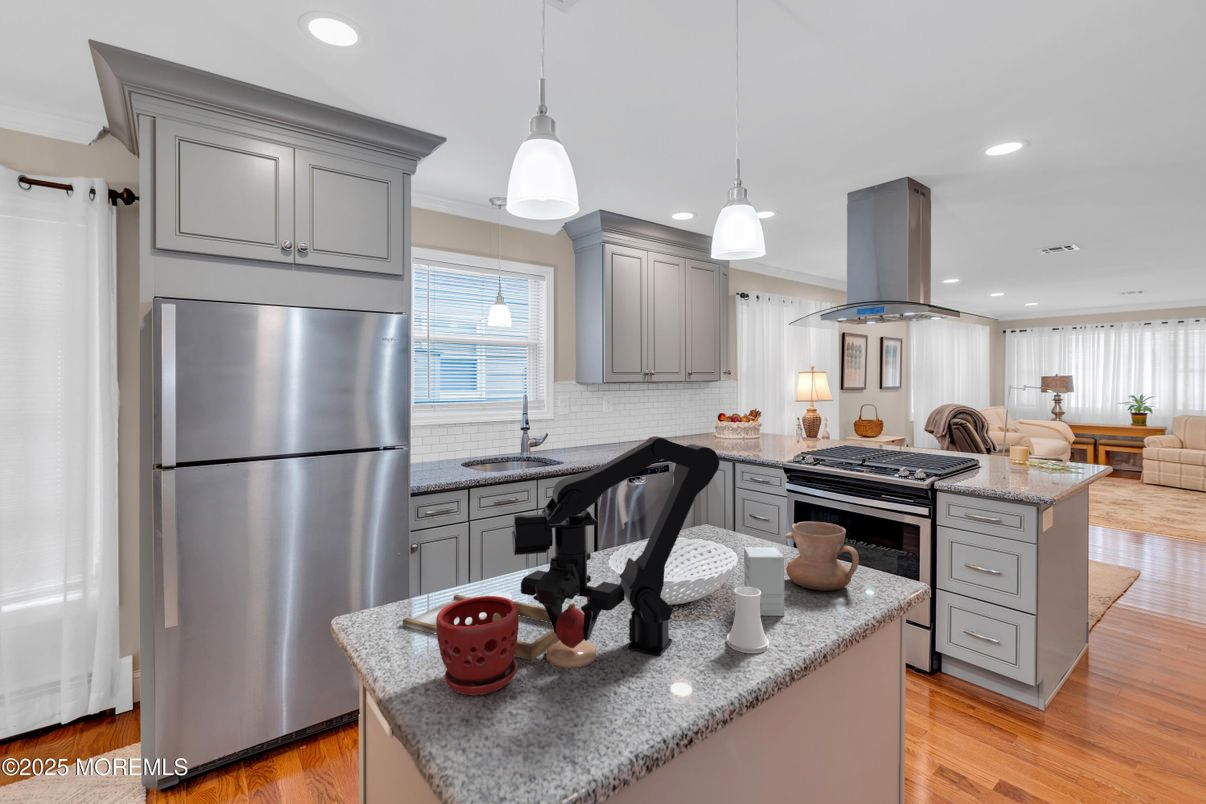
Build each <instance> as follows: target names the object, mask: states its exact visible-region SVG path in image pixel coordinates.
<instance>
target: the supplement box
mask: <svg viewBox="0 0 1206 804" xmlns="http://www.w3.org/2000/svg"><path fill="white" fill-rule="evenodd" d="M743 565H744V566H743V567H744V570H743V572H744V575H743V577H744V579H743V580H744V582H743V585H744V586H743V587H752V588H756V589H758V590H760V591H761V596H760V616H766V617H767V616H771V617H774V616H775V617H784V616H785V557H784V555H782V553H781V552H780V551H779V549H778V548H777V547H750V546H748V547H745V546H744V547H743Z"/></svg>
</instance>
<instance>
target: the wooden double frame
mask: <svg viewBox="0 0 1206 804" xmlns="http://www.w3.org/2000/svg"><path fill="white" fill-rule="evenodd" d="M468 598H471V597H469V596H466V595H465V596H464V595H460V594H455V595H453V599H451V600H449V601H446V602H445V603H443V604H440V605H437V606H436V607H433V608H432V609H429V610H427V611H426V612H423V613H422V614H419V615H417V616H415V617H413V618H409V617H406V618H403V619H402V626H404V627H408V628H411V629H414V630H418V631H423V632H425V633H429V632H430V633H429V634H433V633H436V634H437V626H436V619H437V615H438V613H439V612H440V611H441V610H442V609H443V608H445V607H446V606H448V605H450V604H452V603H455V602H457V601H461V600H464V599H468ZM514 602H515V603H516V605H517V608H518V615H520V616H519V617H522V616H525V617H524V618H527V617H529V618H528V619H531V618H533V620H535V619H538V620H537V621H540V620H543V621H542V622H544V621H547V622H546V623H549V622H551V621H550V619H549V616H548V613H547V611H546V609H545V607H544V606H543V607H542V606H539V605H534V604H533V605H532V604H529V603H523V602H519V601H514ZM507 615H508V613H507ZM486 616H487V615H486V613H484V612H482V613H480V614H479V617H480V618H481V619H485V618H486ZM500 619H502V618H501V616H500V615H499V614H498V613H495V614H494V615H493V621H494V622H495V621H497V620H500ZM458 622H459V617H457V618H455V620H454V624H455V625H456V624H458ZM471 622H472V618H471V617H468V618H467V619H466V620H465V623H466V624H467V625H469V624H471ZM475 626H477V625H475ZM436 634H435V635H436ZM556 642H560V640H559V639H558V637H557V635H556V634H555V632H554V629H553V628H552V629H550V630H549V631H547V632H546V633H544V634H543V635H542V636H540V637H539V638H537V639H536V640H534V641H533V642H532V643H529V642H525V641H522V640H518V639H517V647H516V651H515V655H514V657H517V658H522V659H526V660H529V661H533V660H535V659H536V658H538V657H539V656H541V655H542V654H543V653H544V652H547V649H548V648H549V647H550V646H551V645H553V644H555V643H556Z"/></svg>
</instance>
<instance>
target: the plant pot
mask: <svg viewBox="0 0 1206 804" xmlns="http://www.w3.org/2000/svg"><path fill="white" fill-rule="evenodd" d="M515 602H516V601H515ZM515 602H514V601H513V600H512V599H510V598H509V597H508V598H507V597H503V596H498V595H484V596H475V597H470V598H468V599H464V600H461V601H457V602H455V603H452V604H450V605H448V606H446V607H445V608H443V609H442V610H441V611H440V612H439V613H438V615H437V619H436V626H437V635H436V637H437V638H436V639H437V644H438V648H439V653H440V657H441V659H442V663H443V664H444V667H445V668H446V670H445V672H444V681H445V683H446V685H447V686H448V687H449V688H450V689H452V691H454V692H456V693H459V694H461V695H470V696H473V695H474V696H475V695H476V696H481V695H485V694H489V693H493V692H495V691H497V690H500V689H502V688H503V687H505V686H506V685H508V684H509V683H510V682H511V681H512V679H513V678H514V677H515V675H516V673H517V670H518V664H517V660H515V658H514V657H515V656H514V655H515V651H516V647H517V640H518V636H519V622H520V620H519V616H518V608H517V605H516V603H515ZM482 612H484V613H486V615H487V616H486V618H485V619H481V618H480V617H479V614H480V613H482ZM495 613H498V614H499V615H500V616H501V618H502V619H500V620H497V621H495V622H494V621H493V615H494V614H495ZM507 613H508V615H507ZM457 617H459V622H458V624H456V625H455V624H454V620H455V618H457ZM468 617H471V618H472V622H471V624H469V625H467V624H466V623H465V620H466V619H467V618H468ZM475 625H477V626H475Z"/></svg>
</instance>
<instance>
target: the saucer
mask: <svg viewBox="0 0 1206 804" xmlns="http://www.w3.org/2000/svg"><path fill="white" fill-rule="evenodd" d="M545 652H546V660H547V662H548V663H550V664H551V665H553V666H555V667H559V668H562V669H565V668H566V669H574V668H575V669H576V668H581V667H584V666H588V665H590V664H592V663H593V662H594V661H595V660H596V659H597V653H598V651H597V647H596V646H595V645H594V644H593V643H592V642H588V641H585V640H583V641H582V642H581V643H579V644H578V645H577V646H576V647H575V648H569V647H567V646H566V645H564V644H563V643H562V642H561V641H560V640H559V641H558V642H557V643H555V644H553V645H551V646H550V647H549V648H548V649H547V650H546V651H545Z"/></svg>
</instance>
